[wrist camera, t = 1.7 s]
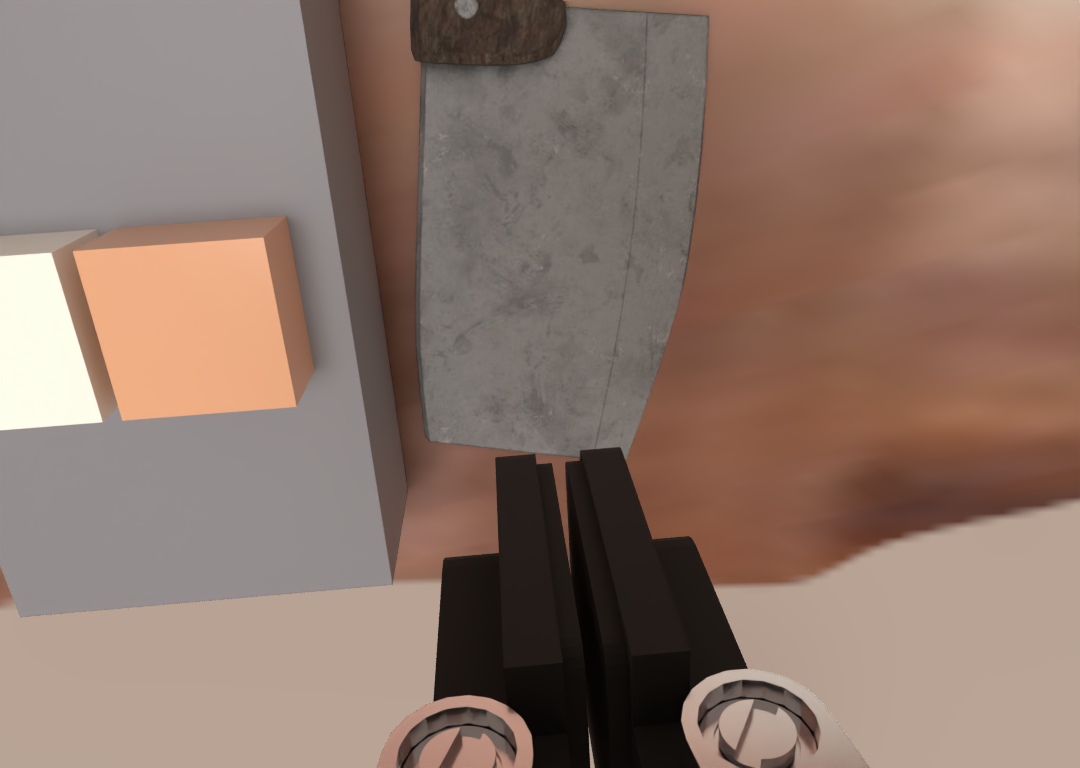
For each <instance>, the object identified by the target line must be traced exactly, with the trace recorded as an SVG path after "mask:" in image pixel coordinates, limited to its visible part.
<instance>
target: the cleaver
mask: <svg viewBox="0 0 1080 768" xmlns="http://www.w3.org/2000/svg"><path fill="white" fill-rule="evenodd" d="M708 27H709V16H700V15H683V14H667V13H651V12H635V11H619V10H602V9H586V8H570V7H565V2H564V1H563V0H411V15H410V31H411V51H412V54H413V57H414V59H415V61H420V62H421V95H420V132H419V168H418V205H417V241H416V286H415V314H416V352H417V364H418V376H419V388H420V398H421V406H422V414H423V422H424V431H425V437H426V438H427V439H428V441H429V442H438V443H447V444H456V445H465V446H474V447H483V448H493V449H502V450H511V451H520V452H529V453H538V454H547V455H556V456H565V457H575V458H580V450H589V449H601V448H613V447H621V449H622V452H623V455H624V458H625V460H626V458H627V456H628V453H629V450H630V447H631V445H632V442H633V439H634V437H635V434H636V431H637V428H638V426H639V423H640V420H641V417H642V415H643V412H644V409H645V406H646V403H647V400H648V397H649V395H650V392H651V389H652V386H653V383H654V380H655V377H656V374H657V372H658V369H659V366H660V363H661V359H662V356H663V353H664V350H665V347H666V344H667V340H668V337H669V334H670V331H671V328H672V324H673V321H674V318H675V315H676V311H677V307H678V304H679V300H680V296H681V292H682V288H683V284H684V280H685V275H686V269H687V264H688V257H689V250H690V243H691V236H692V229H693V223H694V216H695V209H696V200H697V190H698V181H699V171H700V161H701V152H702V139H703V123H704V108H705V92H706V73H707V50H708Z"/></svg>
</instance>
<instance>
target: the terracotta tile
mask: <svg viewBox="0 0 1080 768" xmlns="http://www.w3.org/2000/svg"><path fill="white" fill-rule="evenodd" d="M73 254H74V257H75V261H76V264H77V268H78V271H79V274H80V278H81V281H82V285H83V288H84V292H85V295H86V298H87V302H88V305H89V309H90V312H91V315H92V319H93V322H94V326H95V329H96V333H97V336H98V339H99V343H100V346H101V350H102V353H103V356H104V360H105V363H106V367H107V370H108V373H109V377H110V380H111V384H112V387H113V391H114V394H115V397H116V401H117V404H118V408H119V411H120V414H121V418H122V421H125V420H138V419H150V418H163V417H175V416H188V415H201V414H213V413H226V412H239V411H251V410H264V409H277V408H289V407H297V405H298V403H299V401H300V399H301V397H302V395H303V393H304V391H305V389H306V387H307V385H308V383H309V381H310V379H311V377H312V375H313V373H314V371H315V370H314V365H313V359H312V354H311V348H310V343H309V337H308V332H307V326H306V321H305V315H304V310H303V304H302V299H301V294H300V288H299V283H298V277H297V272H296V266H295V261H294V255H293V250H292V244H291V239H290V233H289V228H288V222H287V217H286V216H278V217H264V218H249V219H235V220H221V221H207V222H193V223H179V224H164V225H150V226H136V227H122V228H115V229H113V230H111V231H109V232H107V233H106V234H104V235H102V236H100V237H98V238H96V239H94V240H93V241H91V242H89V243H87V244H85V245H83V246H81V247H79V248H78V249H76V250H74V251H73Z"/></svg>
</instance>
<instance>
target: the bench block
mask: <svg viewBox="0 0 1080 768" xmlns="http://www.w3.org/2000/svg"><path fill="white" fill-rule="evenodd" d="M278 216H286V217H287V222H288V228H289V233H290V239H291V244H292V250H293V255H294V261H295V266H296V272H297V277H298V283H299V288H300V294H301V299H302V304H303V310H304V315H305V321H306V326H307V332H308V337H309V343H310V348H311V354H312V359H313V365H314V370H315V371H314V373H313V375H312V377H311V379H310V381H309V383H308V385H307V387H306V389H305V391H304V393H303V395H302V397H301V399H300V401H299V403H298V405H297V407H289V408H277V409H264V410H251V411H239V412H226V413H213V414H201V415H188V416H175V417H163V418H150V419H138V420H125V421H122V418H121V414H120V411H119V408H118V407H117V408H116V409H115V410H114V411H113V412H112V413H111V414H110V415H109V416H108V417H107V418H106V419H105V420H104V422H100V423H87V424H74V425H62V426H49V427H36V428H24V429H11V430H0V566H1V569H2V572H3V574H4V577H5V579H6V582H7V584H8V587H9V589H10V592H11V595H12V597H13V600H14V602H15V605H16V607H17V610H18V612H19V615H20V617H29V616H40V615H52V614H63V613H74V612H85V611H97V610H109V609H120V608H132V607H143V606H155V605H165V604H178V603H189V602H200V601H212V600H223V599H234V598H245V597H258V596H267V595H268V596H269V595H280V594H292V593H302V592H315V591H326V590H338V589H349V588H360V587H372V586H383V585H392V584H393V578H394V572H395V566H396V560H397V554H398V547H399V541H400V535H401V529H402V523H403V517H404V510H405V504H406V498H407V492H408V489H407V482H406V475H405V468H404V461H403V454H402V447H401V440H400V433H399V426H398V419H397V411H396V404H395V397H394V390H393V383H392V376H391V369H390V362H389V355H388V348H387V341H386V334H385V327H384V320H383V313H382V306H381V299H380V292H379V285H378V278H377V271H376V264H375V257H374V250H373V242H372V235H371V228H370V221H369V214H368V207H367V200H366V193H365V186H364V179H363V172H362V165H361V158H360V151H359V144H358V137H357V130H356V123H355V116H354V109H353V102H352V95H351V88H350V81H349V73H348V66H347V59H346V52H345V45H344V38H343V31H342V24H341V17H340V10H339V3H338V0H0V236H9V235H23V234H37V233H51V232H65V231H79V230H94V229H97V232H98V235H99V237H100V236H102V235H104V234H106V233H107V232H109V231H111V230H113V229H115V228H122V227H136V226H150V225H164V224H179V223H193V222H207V221H221V220H235V219H249V218H264V217H278Z"/></svg>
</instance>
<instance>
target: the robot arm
mask: <svg viewBox="0 0 1080 768" xmlns="http://www.w3.org/2000/svg"><path fill="white" fill-rule="evenodd" d="M495 461H496V487H497V513H498V539H499V553H494V554H483V555H472V556H461V557H449V558H444V560H443V569H442V584H441V600H440V613H439V629H438V643H437V658H436V673H435V687H434V702H432V703H429V704H426V705H424V706H423V707H421V708H420V709H418V710H416V711H415V712H413V713H412V714H410V715H408V716H407V717H406V718H405V719H404V720H403V721H402V722H401V723H400V724H399V725H398V726H397V727H396V728H395V729H394V730H393V732H391V734H390V736H389V738H388V740H387V742H386V744H385V746H384V748H383V750H382V752H381V756H380V759H379V762H378V765H377V768H590V756H589V755H590V754H589V734H590V739H591V746H592V752H593V759H594V764H595V768H870V767H869V765H868V764H867V763H866V761H865V760H864V758H863V757H862V756H861V754H860V753H859V751H858V750H857V749H856V747H855V746H854V745H853V743H852V742H851V740H850V739H849V738H848V736H847V735H846V733H845V732H844V731H843V729H842V728H841V726H840V725H839V724H838V722H837V721H836V719H835V718H834V717H833V715H832V714H831V712H830V711H829V710H828V708H827V707H826V706H825V705H824V704H823V703H822V702H821V701H820V700H819V699H818V698H817V697H816V696H815V695H814V694H813V693H812V692H811V691H810V690H808V689H806V688H805V687H803V686H802V685H800V684H798V683H797V682H795V681H794V680H791V679H789V678H786V677H784V676H781V675H778V674H775V673H772V672H768V671H761V670H753V669H748V668H747V666H746V663H745V661H744V659H743V656H742V654H741V652H740V649H739V647H738V644H737V642H736V640H735V637H734V635H733V632H732V630H731V628H730V625H729V623H728V621H727V619H726V616H725V614H724V611H723V609H722V606H721V604H720V602H719V599H718V597H717V595H716V592H715V590H714V587H713V585H712V583H711V580H710V578H709V576H708V573H707V571H706V569H705V566H704V564H703V561H702V559H701V557H700V554H699V552H698V550H697V547H696V545H695V543H694V541H693V539H692V538H691V537H689V536H686V537H675V538H664V539H652V537H651V534H650V531H649V528H648V525H647V522H646V519H645V516H644V513H643V510H642V507H641V505H640V502H639V499H638V496H637V493H636V490H635V487H634V484H633V481H632V478H631V475H630V472H629V469H628V467H627V464H626V461H625V458H624V455H623V452H622V449H621V447H613V448H601V449H589V450H580V461H572V462H566V464H565V469H566V490H567V509H568V529H569V548H570V567H571V574H570V568H569V562H568V556H567V550H566V544H565V539H564V533H563V527H562V521H561V515H560V509H559V503H558V497H557V491H556V485H555V479H554V473H553V467H552V463H548V464H536V457H535V454H530V455H518V456H506V457H496V458H495ZM588 727H589V733H588Z"/></svg>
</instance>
